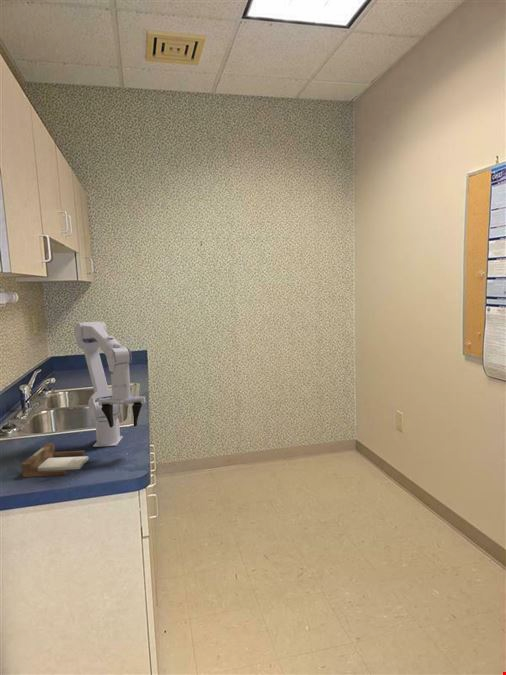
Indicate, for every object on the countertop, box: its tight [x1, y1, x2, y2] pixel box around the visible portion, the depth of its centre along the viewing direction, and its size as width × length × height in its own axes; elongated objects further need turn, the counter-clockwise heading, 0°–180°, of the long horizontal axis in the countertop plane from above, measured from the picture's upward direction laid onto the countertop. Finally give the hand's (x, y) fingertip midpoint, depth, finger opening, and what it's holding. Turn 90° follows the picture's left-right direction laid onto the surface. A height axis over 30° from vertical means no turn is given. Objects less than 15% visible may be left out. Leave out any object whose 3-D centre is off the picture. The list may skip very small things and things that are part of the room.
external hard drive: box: [37, 455, 89, 471], centre depth 134 cm, size 2×8×12 cm
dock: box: [21, 442, 85, 478], centre depth 134 cm, size 17×12×4 cm
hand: (123, 426), depth 140 cm, fingers open, 7 cm apart
